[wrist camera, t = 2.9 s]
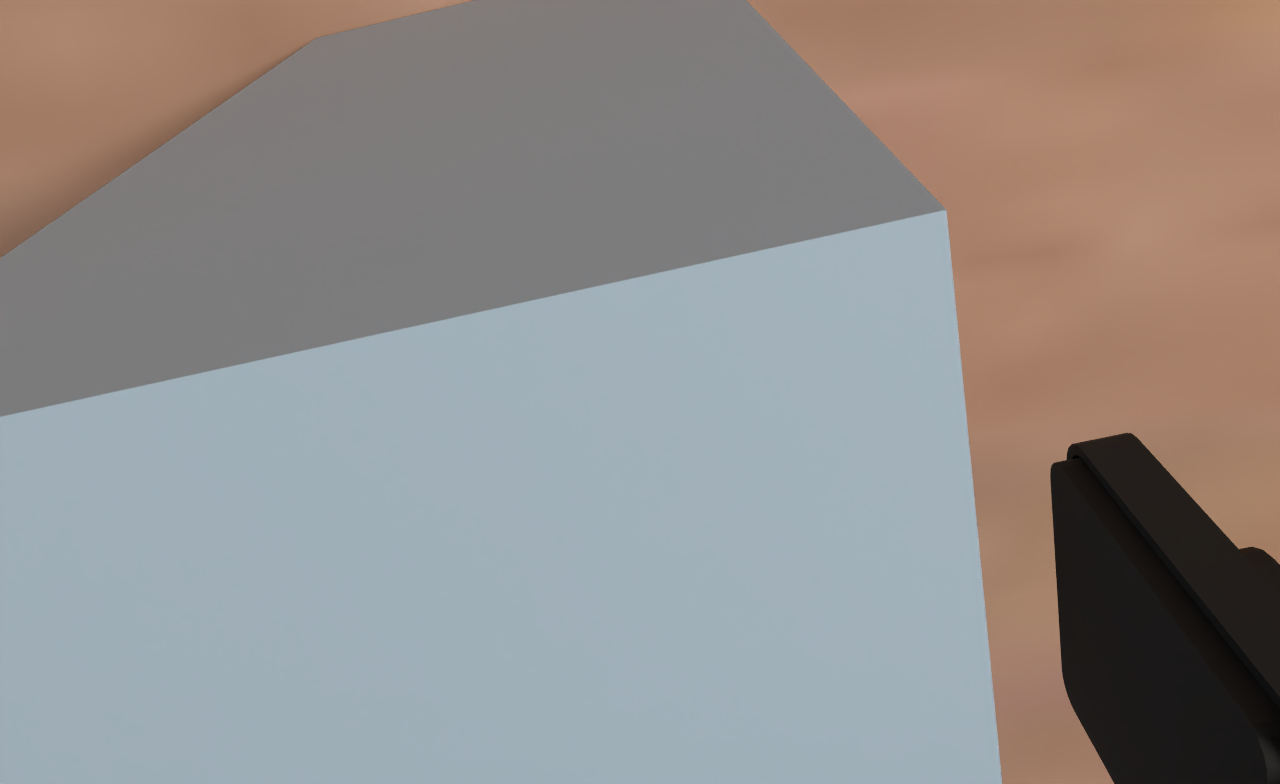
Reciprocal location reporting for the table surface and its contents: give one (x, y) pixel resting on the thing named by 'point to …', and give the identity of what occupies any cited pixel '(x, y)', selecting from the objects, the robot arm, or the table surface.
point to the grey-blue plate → (496, 428)
